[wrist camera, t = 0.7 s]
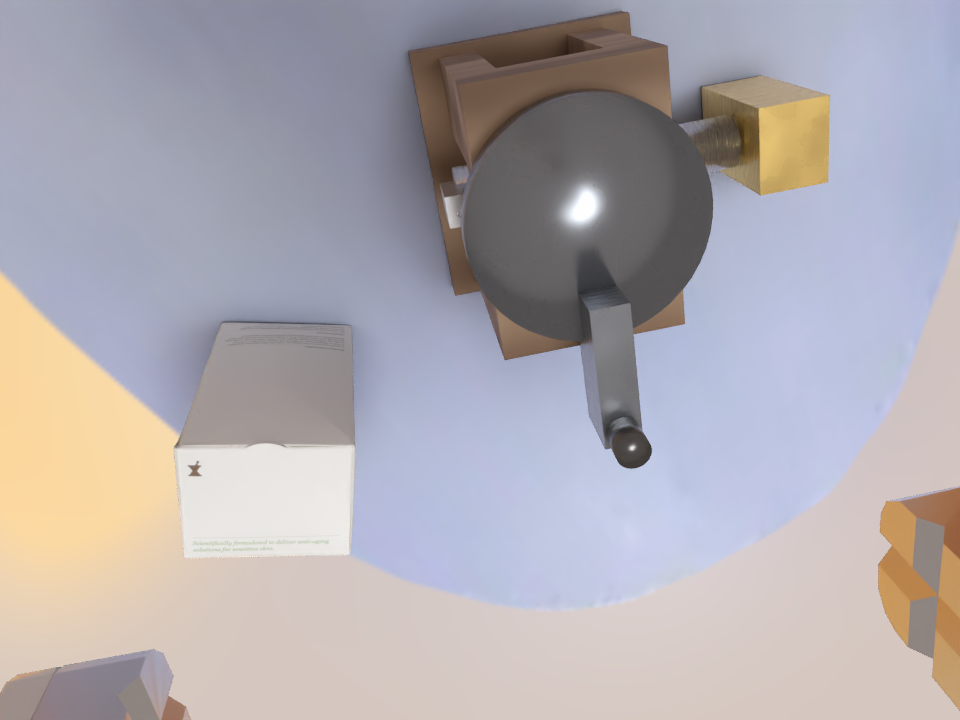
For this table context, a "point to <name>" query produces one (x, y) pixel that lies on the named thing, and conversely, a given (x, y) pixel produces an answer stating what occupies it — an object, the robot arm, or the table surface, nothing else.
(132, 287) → the table surface
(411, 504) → the table surface
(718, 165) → the gold cube on rod
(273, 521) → the skincare box
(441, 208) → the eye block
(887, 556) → the robot arm
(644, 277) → the handwheel
